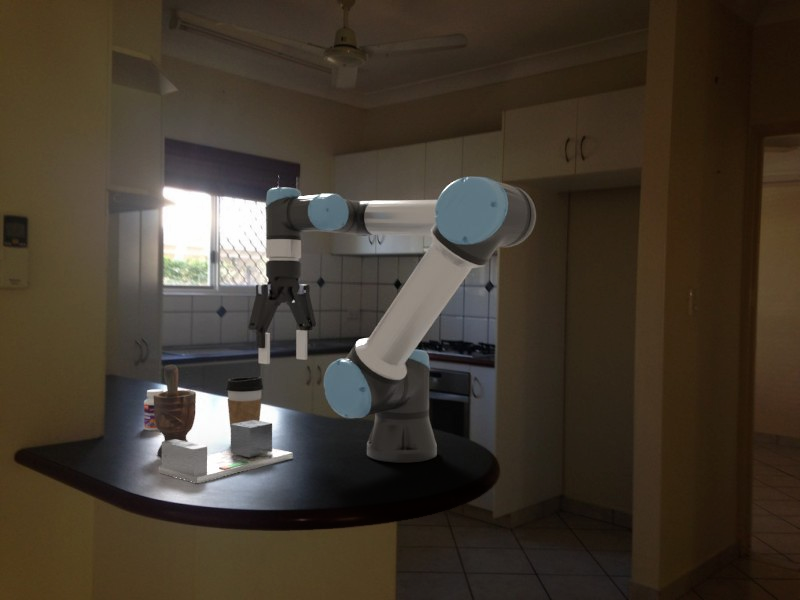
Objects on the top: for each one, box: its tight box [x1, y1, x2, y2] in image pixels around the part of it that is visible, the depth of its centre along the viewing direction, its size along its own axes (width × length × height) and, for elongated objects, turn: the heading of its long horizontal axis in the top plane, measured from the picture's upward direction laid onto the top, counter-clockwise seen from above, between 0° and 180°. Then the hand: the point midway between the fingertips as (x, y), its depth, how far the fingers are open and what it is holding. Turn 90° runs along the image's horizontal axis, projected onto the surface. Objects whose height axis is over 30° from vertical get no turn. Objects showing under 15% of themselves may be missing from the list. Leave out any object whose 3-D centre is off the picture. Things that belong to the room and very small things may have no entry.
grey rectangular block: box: [230, 420, 273, 457], centre depth 143 cm, size 8×6×6 cm
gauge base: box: [158, 439, 294, 484], centre depth 139 cm, size 12×24×6 cm, turn 143°
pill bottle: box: [143, 388, 165, 432], centre depth 174 cm, size 5×5×10 cm
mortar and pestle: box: [154, 364, 197, 457], centre depth 147 cm, size 12×9×20 cm
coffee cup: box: [225, 376, 264, 429], centre depth 160 cm, size 8×8×15 cm
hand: (283, 361), depth 151 cm, fingers open, 10 cm apart
